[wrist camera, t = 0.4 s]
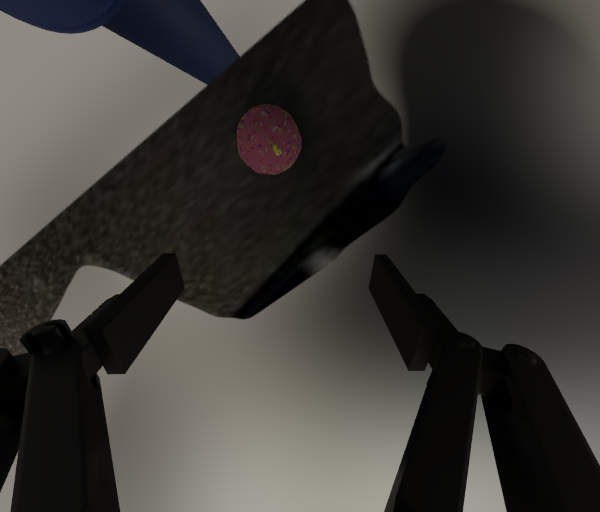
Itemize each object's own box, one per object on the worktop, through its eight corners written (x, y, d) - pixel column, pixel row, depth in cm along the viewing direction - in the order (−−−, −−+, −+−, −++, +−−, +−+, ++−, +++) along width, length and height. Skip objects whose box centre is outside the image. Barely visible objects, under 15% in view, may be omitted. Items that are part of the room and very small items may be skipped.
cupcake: (309, 126, 35) (317, 123, 24) (285, 180, 38) (282, 198, 27) (255, 95, 33) (236, 76, 22) (234, 154, 36) (210, 163, 25)
